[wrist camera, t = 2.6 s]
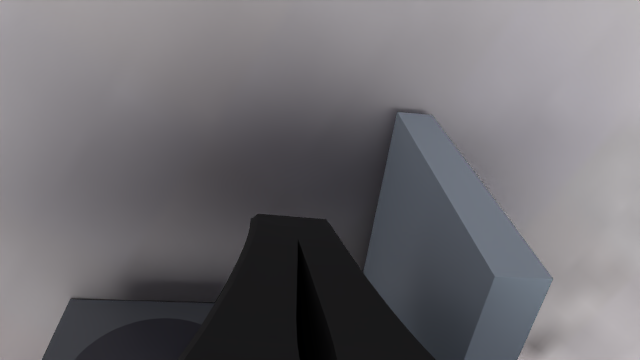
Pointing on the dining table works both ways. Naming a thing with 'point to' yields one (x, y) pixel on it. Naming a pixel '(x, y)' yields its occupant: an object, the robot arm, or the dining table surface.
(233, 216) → the dining table surface
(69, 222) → the dining table surface
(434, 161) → the side door
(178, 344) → the box
